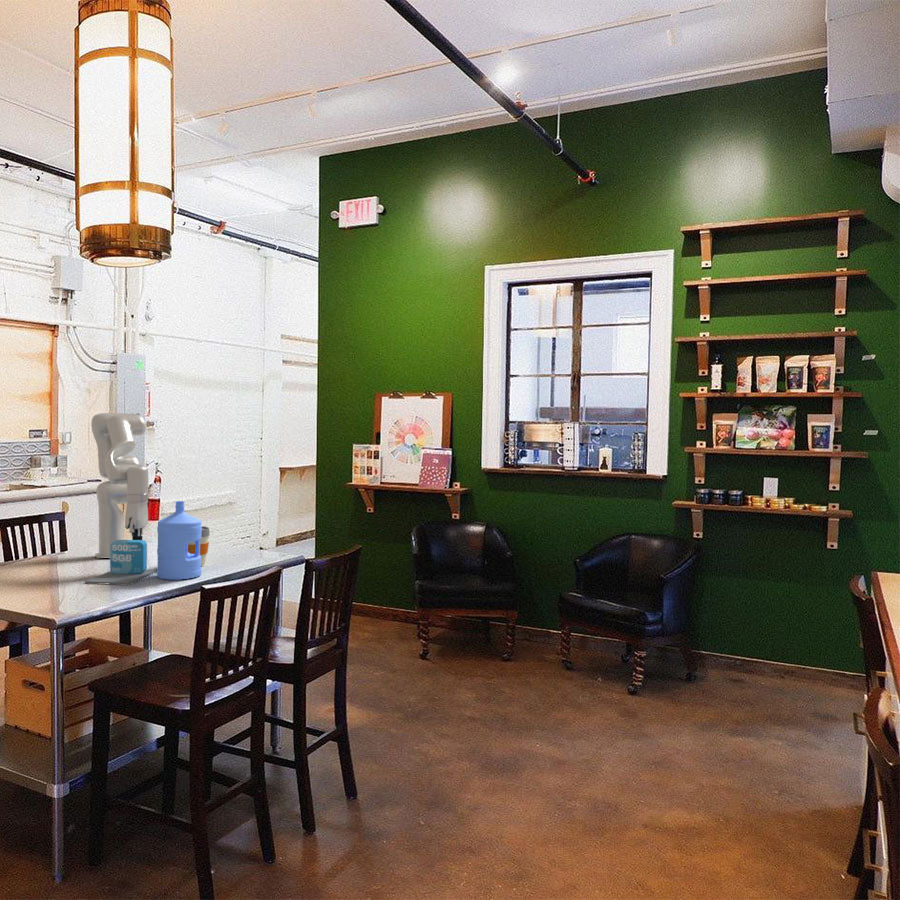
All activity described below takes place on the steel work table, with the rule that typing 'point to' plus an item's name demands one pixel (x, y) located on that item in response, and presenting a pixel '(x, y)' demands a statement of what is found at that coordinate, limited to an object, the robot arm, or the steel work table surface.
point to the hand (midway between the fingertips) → (137, 546)
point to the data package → (128, 556)
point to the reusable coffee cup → (201, 545)
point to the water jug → (178, 545)
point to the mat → (120, 577)
